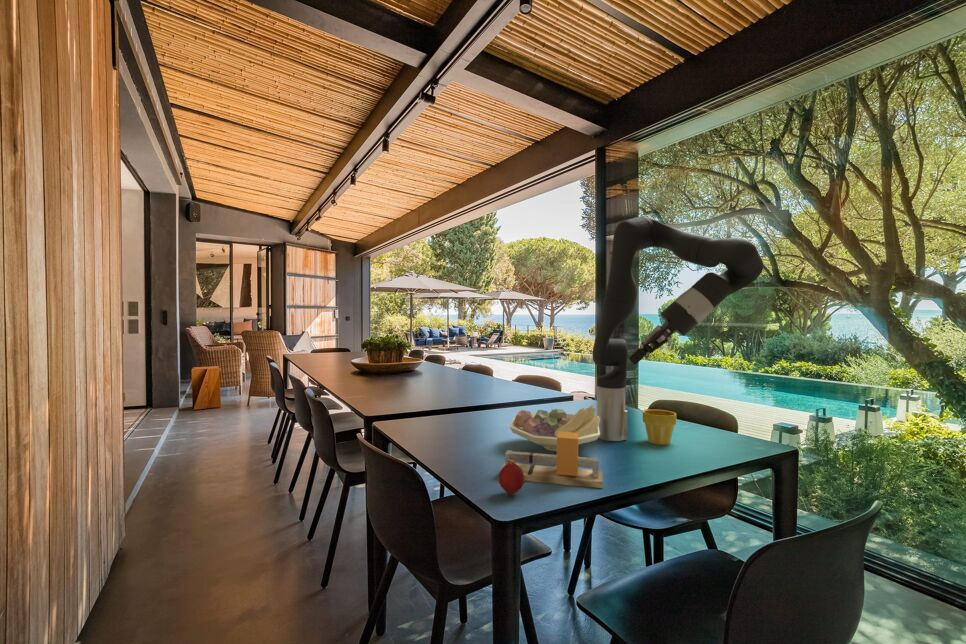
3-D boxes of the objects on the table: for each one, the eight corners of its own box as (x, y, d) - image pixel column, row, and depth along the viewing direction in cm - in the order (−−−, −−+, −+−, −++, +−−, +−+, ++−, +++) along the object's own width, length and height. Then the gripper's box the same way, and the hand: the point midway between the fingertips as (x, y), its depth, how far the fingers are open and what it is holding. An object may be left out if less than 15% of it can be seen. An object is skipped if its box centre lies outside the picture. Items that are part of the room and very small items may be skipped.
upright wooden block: (577, 468, 117) (578, 432, 117) (577, 476, 111) (577, 438, 111) (557, 466, 118) (558, 431, 118) (556, 474, 113) (557, 437, 112)
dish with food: (612, 463, 127) (613, 412, 127) (510, 461, 128) (511, 410, 128) (590, 436, 155) (591, 394, 155) (507, 435, 156) (507, 393, 156)
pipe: (598, 473, 115) (598, 457, 115) (598, 478, 112) (598, 461, 112) (507, 465, 120) (507, 450, 120) (504, 469, 117) (505, 453, 117)
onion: (508, 487, 108) (509, 454, 108) (529, 494, 105) (529, 459, 105) (493, 495, 104) (493, 459, 104) (514, 502, 100) (514, 465, 100)
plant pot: (637, 437, 155) (638, 408, 155) (669, 438, 155) (669, 409, 155) (647, 446, 145) (648, 415, 145) (681, 447, 145) (681, 416, 144)
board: (601, 476, 117) (602, 470, 117) (602, 488, 109) (603, 481, 109) (504, 467, 122) (504, 461, 122) (499, 478, 115) (499, 471, 115)
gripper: (670, 301, 115) (618, 348, 118) (680, 299, 102) (621, 352, 106) (692, 322, 114) (639, 370, 117) (705, 323, 101) (645, 376, 104)
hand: (631, 361), depth 111 cm, fingers closed
